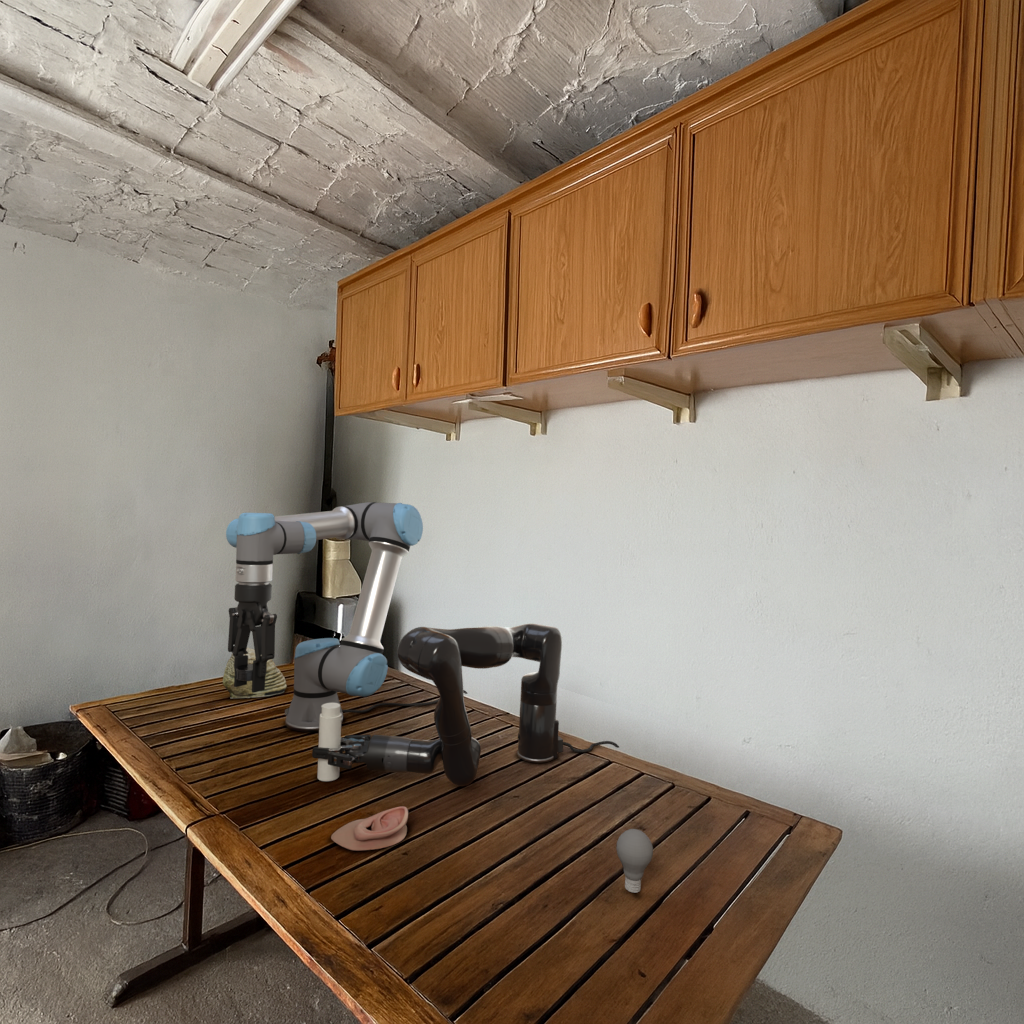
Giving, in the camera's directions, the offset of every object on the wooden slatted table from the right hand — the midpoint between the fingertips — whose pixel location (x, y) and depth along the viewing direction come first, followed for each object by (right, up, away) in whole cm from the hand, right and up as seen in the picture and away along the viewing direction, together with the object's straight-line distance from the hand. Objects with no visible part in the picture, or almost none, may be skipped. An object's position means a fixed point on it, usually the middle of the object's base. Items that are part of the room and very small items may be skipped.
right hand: (318, 747), depth 144 cm
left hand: (-14, +15, -4) cm, 21 cm away
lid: (-14, +19, -4) cm, 24 cm away
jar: (+2, -7, 0) cm, 7 cm away
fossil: (-37, -4, +54) cm, 66 cm away
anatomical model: (+17, -8, -24) cm, 31 cm away
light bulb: (+64, -10, -38) cm, 75 cm away
